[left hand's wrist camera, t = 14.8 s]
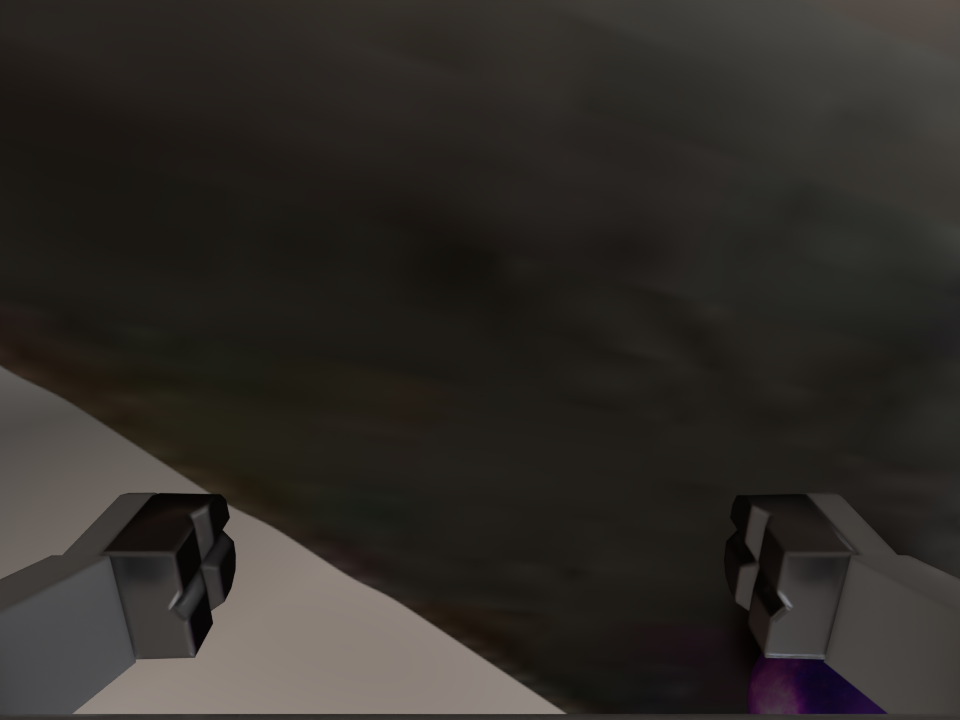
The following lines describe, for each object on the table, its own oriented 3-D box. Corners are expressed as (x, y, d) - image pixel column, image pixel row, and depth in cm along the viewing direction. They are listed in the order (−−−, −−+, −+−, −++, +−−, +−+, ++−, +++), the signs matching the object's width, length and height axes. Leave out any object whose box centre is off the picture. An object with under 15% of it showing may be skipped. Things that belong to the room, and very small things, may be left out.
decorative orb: (824, 552, 55) (941, 702, 41) (919, 646, 59) (1057, 812, 44) (688, 648, 59) (753, 815, 45) (786, 731, 62) (874, 908, 48)
